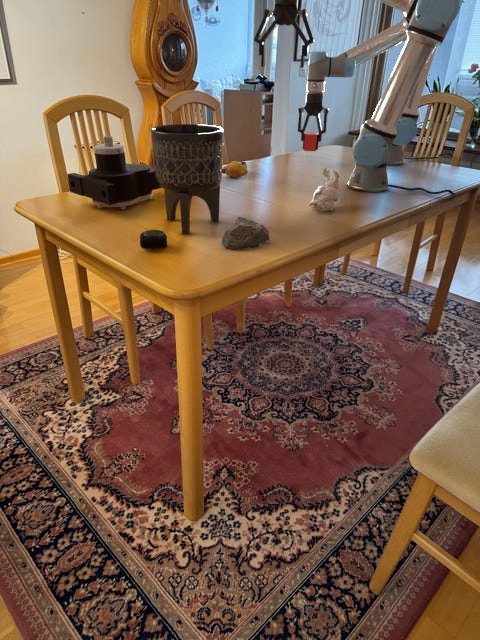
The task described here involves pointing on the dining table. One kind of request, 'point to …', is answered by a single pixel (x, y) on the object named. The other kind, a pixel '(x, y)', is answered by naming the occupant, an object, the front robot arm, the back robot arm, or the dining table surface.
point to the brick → (310, 141)
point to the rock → (245, 234)
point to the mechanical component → (114, 178)
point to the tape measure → (153, 239)
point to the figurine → (326, 192)
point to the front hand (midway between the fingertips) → (282, 67)
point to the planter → (188, 167)
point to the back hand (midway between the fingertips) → (310, 148)
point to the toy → (235, 169)
